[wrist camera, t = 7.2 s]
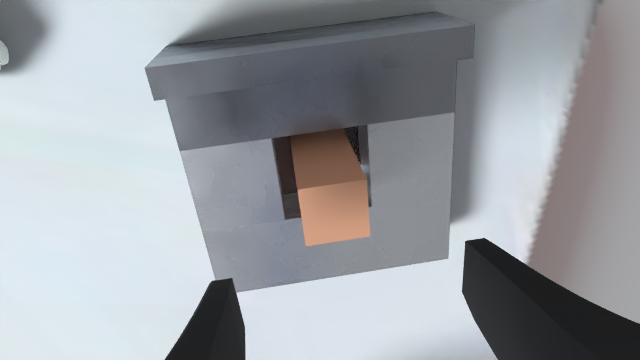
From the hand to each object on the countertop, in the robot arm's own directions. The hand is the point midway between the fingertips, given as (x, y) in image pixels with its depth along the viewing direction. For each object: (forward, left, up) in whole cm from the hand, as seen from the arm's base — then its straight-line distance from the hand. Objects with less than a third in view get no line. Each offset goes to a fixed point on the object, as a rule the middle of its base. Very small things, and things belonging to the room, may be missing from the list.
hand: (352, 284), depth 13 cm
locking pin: (0, 0, -10) cm, 10 cm away
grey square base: (0, 0, -10) cm, 10 cm away
